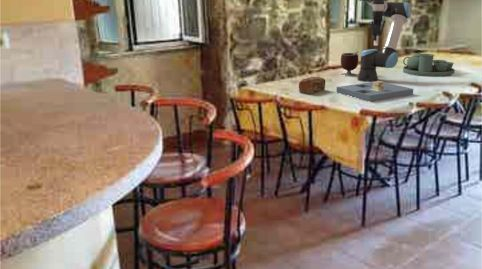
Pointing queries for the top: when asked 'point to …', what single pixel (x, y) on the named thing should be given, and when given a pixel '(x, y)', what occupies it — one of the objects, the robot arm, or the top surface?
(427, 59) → the tea set
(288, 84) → the top surface
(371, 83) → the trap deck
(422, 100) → the top surface
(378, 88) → the maple block
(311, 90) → the bread
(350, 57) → the mate gourd
